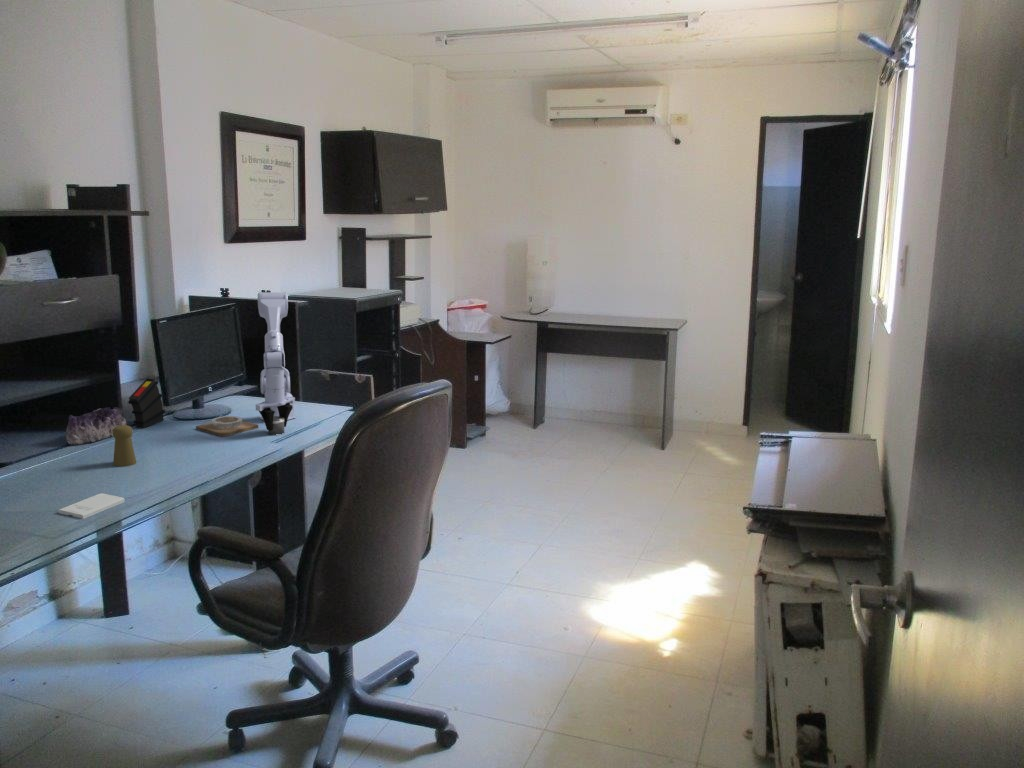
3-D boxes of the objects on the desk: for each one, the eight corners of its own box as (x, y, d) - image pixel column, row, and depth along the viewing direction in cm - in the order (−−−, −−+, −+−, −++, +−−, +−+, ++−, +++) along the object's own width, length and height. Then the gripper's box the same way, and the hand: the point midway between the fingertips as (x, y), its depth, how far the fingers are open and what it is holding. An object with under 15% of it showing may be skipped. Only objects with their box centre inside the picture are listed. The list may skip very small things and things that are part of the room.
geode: (90, 448, 248) (83, 417, 246) (58, 449, 251) (51, 418, 249) (135, 428, 267) (128, 399, 265) (105, 430, 270) (98, 400, 268)
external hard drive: (125, 504, 207) (83, 521, 196) (100, 498, 210) (58, 515, 198) (124, 497, 206) (82, 514, 195) (100, 492, 209) (57, 508, 198)
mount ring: (230, 420, 279) (229, 414, 279) (248, 425, 274) (247, 419, 274) (206, 425, 271) (205, 420, 271) (224, 431, 266) (224, 425, 266)
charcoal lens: (277, 429, 273) (277, 415, 272) (287, 432, 271) (287, 418, 270) (265, 433, 269) (264, 418, 268) (275, 435, 267) (275, 421, 265)
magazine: (170, 413, 283) (156, 378, 273) (149, 438, 272) (133, 403, 263) (160, 412, 283) (146, 377, 274) (139, 437, 273) (123, 402, 264)
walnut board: (231, 420, 282) (231, 417, 282) (258, 427, 275) (258, 425, 275) (195, 429, 271) (195, 426, 271) (223, 436, 264) (222, 433, 263)
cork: (114, 460, 237) (111, 424, 235) (137, 459, 239) (134, 422, 237) (112, 467, 232) (109, 429, 229) (135, 465, 234) (133, 428, 231)
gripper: (265, 393, 259) (266, 435, 262) (300, 385, 270) (301, 425, 273) (250, 390, 262) (252, 431, 265) (286, 382, 274) (287, 422, 277)
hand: (276, 428), depth 270 cm, fingers closed on charcoal lens, 5 cm apart
